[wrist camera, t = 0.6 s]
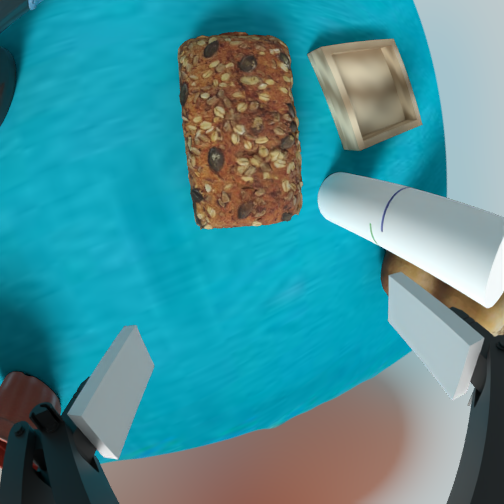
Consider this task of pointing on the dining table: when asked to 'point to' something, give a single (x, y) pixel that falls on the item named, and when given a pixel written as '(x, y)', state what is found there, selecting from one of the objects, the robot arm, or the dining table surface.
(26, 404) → the flower pot
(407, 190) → the cylindrical container
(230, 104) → the bread
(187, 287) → the dining table surface
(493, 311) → the butternut squash
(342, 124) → the holder tray
